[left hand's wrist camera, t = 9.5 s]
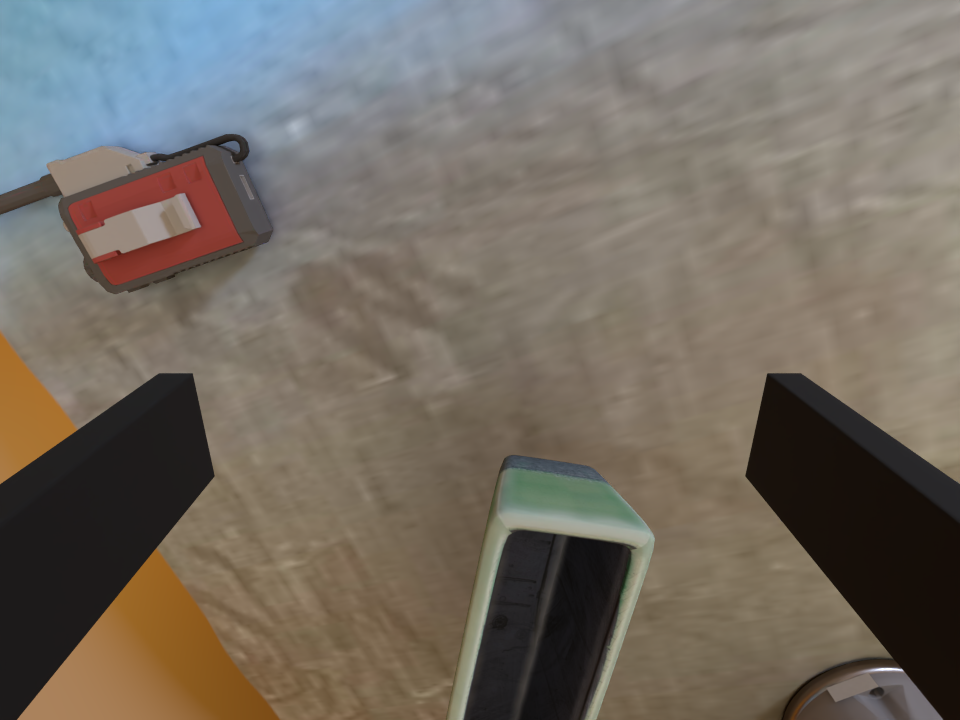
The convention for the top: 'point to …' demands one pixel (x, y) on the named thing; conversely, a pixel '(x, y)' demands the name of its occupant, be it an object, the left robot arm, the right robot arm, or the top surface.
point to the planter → (549, 595)
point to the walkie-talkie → (152, 209)
